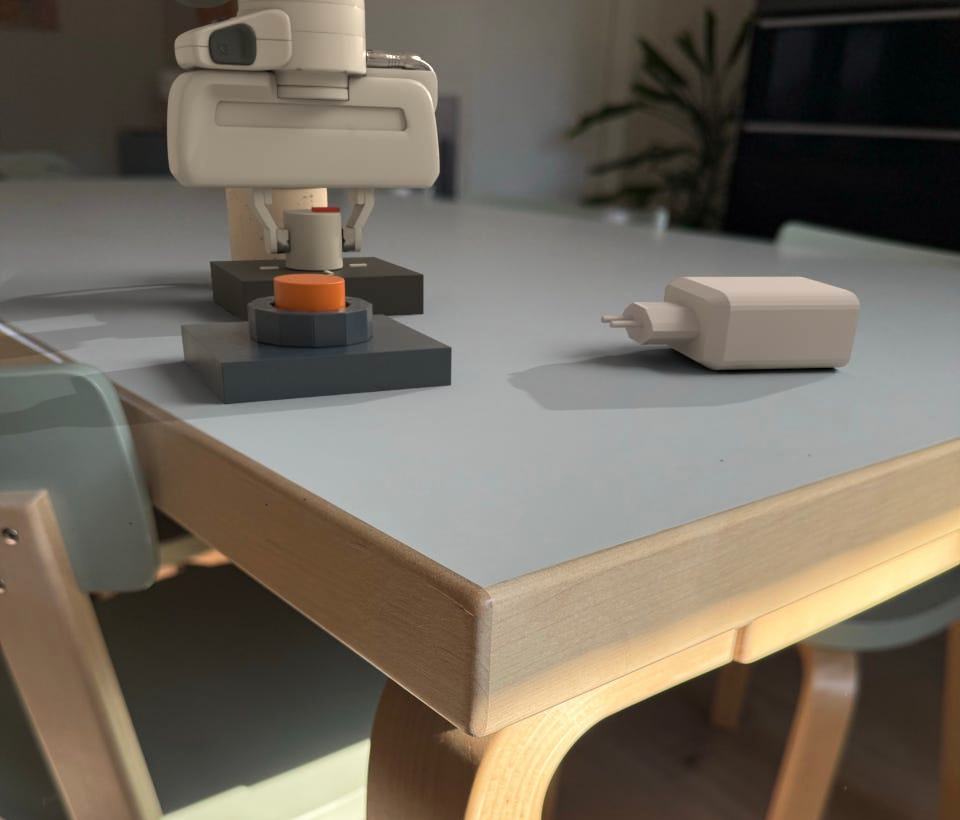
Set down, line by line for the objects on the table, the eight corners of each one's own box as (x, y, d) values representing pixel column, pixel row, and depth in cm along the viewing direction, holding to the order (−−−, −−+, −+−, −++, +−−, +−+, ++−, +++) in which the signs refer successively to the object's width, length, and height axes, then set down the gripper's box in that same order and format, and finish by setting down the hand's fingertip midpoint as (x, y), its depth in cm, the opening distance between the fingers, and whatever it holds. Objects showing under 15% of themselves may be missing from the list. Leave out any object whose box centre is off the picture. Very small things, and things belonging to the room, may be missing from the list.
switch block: (225, 405, 52) (217, 326, 50) (184, 361, 60) (176, 293, 58) (451, 386, 57) (452, 314, 55) (383, 348, 65) (382, 285, 63)
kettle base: (246, 324, 72) (242, 278, 70) (213, 300, 80) (209, 259, 79) (423, 314, 77) (423, 272, 76) (375, 293, 86) (374, 254, 84)
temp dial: (295, 271, 75) (291, 210, 73) (279, 264, 78) (275, 205, 76) (350, 269, 76) (348, 209, 74) (332, 262, 80) (330, 204, 78)
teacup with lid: (339, 291, 86) (334, 142, 81) (233, 292, 84) (220, 139, 78) (322, 272, 96) (316, 138, 91) (227, 272, 94) (215, 136, 89)
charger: (581, 346, 68) (780, 343, 71) (626, 377, 60) (848, 372, 63) (586, 273, 66) (791, 273, 69) (634, 296, 58) (863, 294, 61)
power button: (286, 318, 54) (284, 285, 54) (267, 306, 58) (265, 274, 57) (355, 314, 56) (354, 282, 55) (333, 303, 59) (331, 272, 58)
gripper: (421, 55, 77) (421, 245, 83) (150, 39, 69) (173, 250, 75) (454, 52, 72) (451, 254, 78) (167, 34, 64) (190, 260, 70)
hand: (313, 252), depth 77 cm, fingers closed on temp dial, 4 cm apart
